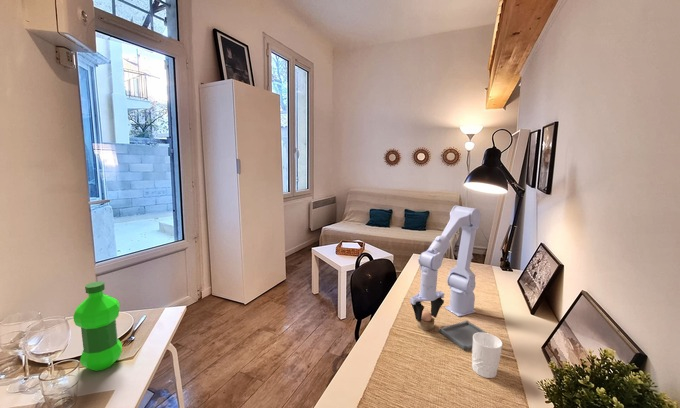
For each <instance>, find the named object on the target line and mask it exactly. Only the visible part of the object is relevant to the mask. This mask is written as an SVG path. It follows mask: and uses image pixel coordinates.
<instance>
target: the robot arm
mask: <svg viewBox="0 0 680 408" xmlns="http://www.w3.org/2000/svg"><path fill="white" fill-rule="evenodd" d="M481 220H482V213H481V211H480V209H479V208H477V207H475V208H473V207H467V206H461V205H457V204H456V205H454V206H453V207H452V209H450V212H449V221H448V222H447V224H446V226H445V227H444V228H443V231H442V232H441V234H440V235H437V236H436V237H435V239H434V240H433V241H432V242H431V244H430V246H429V247H428V249H426V250H425V251H423V252H421V253H420V255H419V257H418V264H419V270H420V271H421V273H420V285H419V291H418V294H416V295H414V296H411V297H410V298H409V303H410V305H411V306H412V308H413V312H414V316H415V320H416V321H417V322H418V321H419V322H421V318H422V312H423V311H424V309H425V306H424V305H423V304H422V303H423V302H430V313H431V315H432V317H433V318H434V319H435V318H437V316H438V314H439V311H440V310H441V307H442V306H443V304H445V300H444V298H445V292H443V291H441V290H440V291H439V290H438V291H437V286H438V285H437V284H438V272H439V271H438V270H439V269H440V268H441V267H442V263H443V260H444V255H446V254H445V253H446V252H447V251H448V249H449V248H450V246H451V242H450V240H451V239H452V238H453V237H454V235H456V233H457V232H458V231H459V229H460V228H461V237H460V242H459V249H458V252H457V253H458V255H457V261H456V266H455V267H452V268H450V269H449V273H448V275H447V278H446V283H447V285H448V286H449V289H450V294H449V296H450V297H449V305H446V306H444V308H445V310H447V311H449V312H451V313H452V314H454V315H456V316H457V317H463V316H466V315H470V314H473V313H476V310H475V302H476V301H475V300H476V295H475V293H474V290H475V288H476V275H475V273H474V272H473V271H472V270H471V265H472V264H471V263H472V257H473V253H474V252H473V250H474V247H475V245H474V244H475V241H476V240H475V238H476V235H477V230H478V229H479V228H480V225H481Z"/></svg>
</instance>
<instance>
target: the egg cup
mask: <svg viewBox="0 0 680 408" xmlns="http://www.w3.org/2000/svg"><path fill="white" fill-rule="evenodd" d="M417 328H418V329H420V330H422V331H425V332H426V331H427V332H429V331H432V330H433V331H434V328H435V317H433V316H432V319H431V320H430V321H429V322H424V321H423V320H422V319H421V322H419V321H417Z"/></svg>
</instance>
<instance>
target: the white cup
mask: <svg viewBox="0 0 680 408" xmlns="http://www.w3.org/2000/svg"><path fill="white" fill-rule="evenodd" d="M502 349H503V342H502V340H501V338H499V337H498V336H496V335H494V334H492V333H489V332H487V333H484V332H478V333H475V334H474V335H473V343H472V349H471V369H472V370H473V372H474V373H476V374H477V375H479V376H480V377H482V378H487V379H494V378H496V377H497V373H498V369H499V365H500V360H501V355H502Z"/></svg>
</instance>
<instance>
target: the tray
mask: <svg viewBox="0 0 680 408" xmlns="http://www.w3.org/2000/svg"><path fill="white" fill-rule="evenodd" d="M478 332H484V333H488V332H487V331H485V330H483V329H482V328H481V327H478V326H476V325H475V324H474V323H472V322H470V321H469V320H465V321H461V322H457V323H455V324H450V325H447V326H444V327H439V329H438V333H440V334H441V335H443V336H444V337H445V338H447V339H448V340H449V341H451V342H452V343H453V344H455V345H456V346H457V347H459V348H460V349H462V350H463V351H465V352H467V351H470V350H472V343H473V335H474V334H475V333H478Z"/></svg>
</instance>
